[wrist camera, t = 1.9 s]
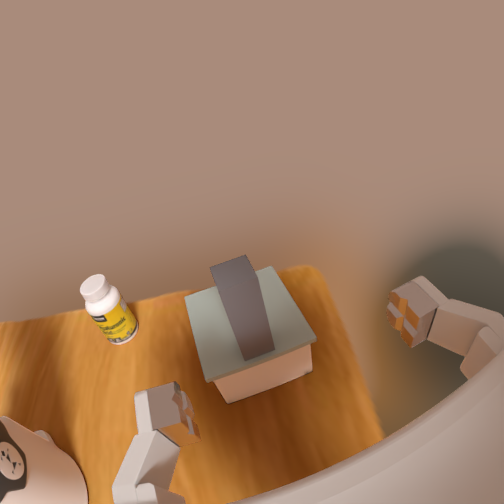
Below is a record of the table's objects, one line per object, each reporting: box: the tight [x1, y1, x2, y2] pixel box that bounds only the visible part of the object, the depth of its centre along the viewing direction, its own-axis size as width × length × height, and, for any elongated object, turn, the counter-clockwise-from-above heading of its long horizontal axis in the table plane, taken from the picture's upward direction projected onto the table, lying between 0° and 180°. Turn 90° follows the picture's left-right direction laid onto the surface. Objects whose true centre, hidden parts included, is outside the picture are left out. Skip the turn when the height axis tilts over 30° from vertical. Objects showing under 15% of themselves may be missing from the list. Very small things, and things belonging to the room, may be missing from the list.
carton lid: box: [185, 255, 317, 383], centre depth 30 cm, size 12×11×10 cm
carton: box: [214, 344, 312, 404], centre depth 34 cm, size 11×10×6 cm
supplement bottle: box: [80, 274, 138, 345], centre depth 40 cm, size 5×5×10 cm
